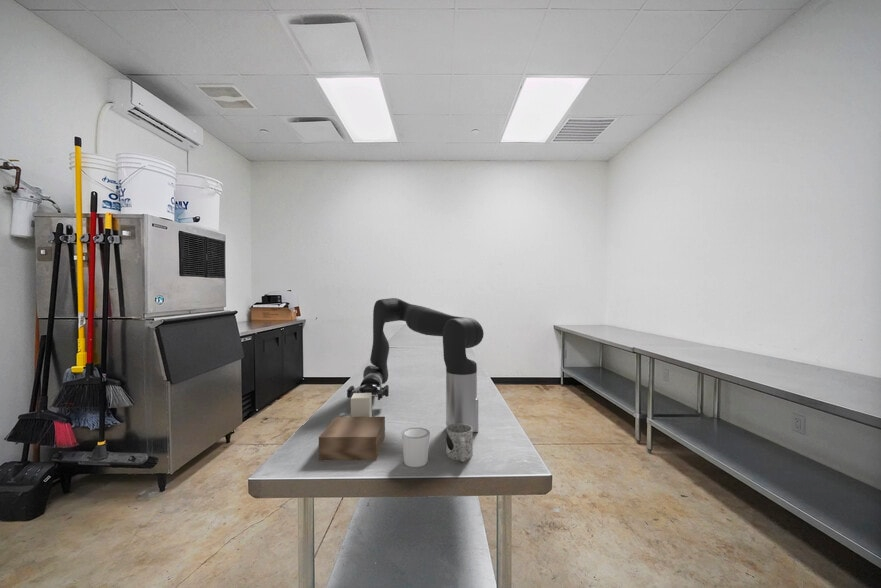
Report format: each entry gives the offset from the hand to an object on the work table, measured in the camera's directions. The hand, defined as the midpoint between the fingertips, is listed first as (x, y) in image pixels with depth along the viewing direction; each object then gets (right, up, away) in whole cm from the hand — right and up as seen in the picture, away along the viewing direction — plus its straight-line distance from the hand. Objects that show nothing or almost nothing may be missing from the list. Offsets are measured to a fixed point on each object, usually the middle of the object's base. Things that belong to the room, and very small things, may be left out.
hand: (366, 397), depth 115 cm
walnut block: (+2, -6, -24) cm, 25 cm away
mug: (+30, -6, -30) cm, 42 cm away
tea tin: (+1, -6, -11) cm, 13 cm away
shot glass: (+19, -6, -32) cm, 37 cm away
